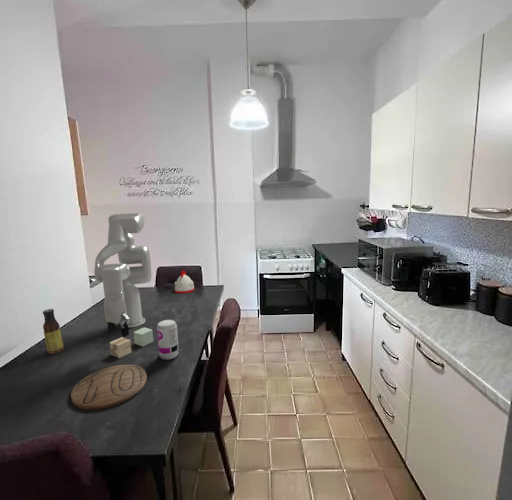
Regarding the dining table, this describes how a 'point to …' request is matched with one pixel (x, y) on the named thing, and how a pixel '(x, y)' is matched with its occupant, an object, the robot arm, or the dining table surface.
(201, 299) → the dining table surface
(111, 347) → the beech cube
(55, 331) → the sauce bottle
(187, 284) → the white and red dome
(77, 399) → the trivet
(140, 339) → the sage cube
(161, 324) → the supplement can
